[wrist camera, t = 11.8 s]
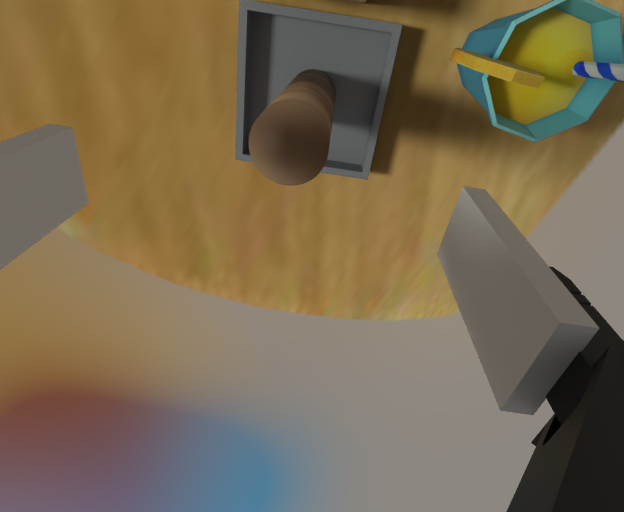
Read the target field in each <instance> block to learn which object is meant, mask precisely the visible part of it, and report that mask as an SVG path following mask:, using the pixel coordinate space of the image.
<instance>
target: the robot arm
mask: <svg viewBox="0 0 624 512" xmlns="http://www.w3.org/2000/svg"><path fill="white" fill-rule="evenodd" d="M88 203H89V202H88V197H87V192H86V188H85V183H84V179H83V174H82V169H81V165H80V160H79V155H78V151H77V146H76V141H75V137H74V132H73V127H67V126H60V125H53V124H48V125H45V126H42V127H40V128H37V129H34V130H32V131H29V132H26V133H24V134H21V135H19V136H16V137H13V138H11V139H8V140H5V141H3V142H0V270H1V269H2V268H3V267H5V266H6V265H7V264H8V263H10V262H11V261H12V260H14V259H15V258H16V257H18V256H19V255H20V254H22V253H23V252H24V251H26V250H27V249H28V248H30V247H31V246H32V245H34V244H35V243H36V242H38V241H39V240H40V239H42V238H43V237H44V236H45V235H47V234H48V233H50V232H51V231H52V230H54V229H55V228H56V227H58V226H59V225H60V224H62V223H63V222H64V221H66V220H67V219H68V218H69V217H71V216H72V215H73V214H75V213H76V212H77V211H79V210H80V209H81V208H83V207H84V206H85V205H87V204H88ZM437 255H438V257H439V260H440V262H441V265H442V267H443V270H444V272H445V275H446V277H447V280H448V282H449V285H450V287H451V290H452V292H453V294H454V297H455V299H456V302H457V304H458V307H459V309H460V312H461V314H462V317H463V319H464V321H465V324H466V327H467V329H468V331H469V334H470V337H471V339H472V341H473V344H474V346H475V349H476V351H477V354H478V356H479V359H480V361H481V364H482V366H483V369H484V371H485V374H486V376H487V379H488V381H489V384H490V386H491V388H492V391H493V393H494V396H495V398H496V401H497V403H498V406H499V408H500V410H501V411H507V412H514V413H521V414H529V415H534V413H535V412H536V411H537V410H538V408H539V407H540V406H541V404H542V403H543V402H544V400H545V399H546V398H547V400H548V402H549V404H550V406H551V407H552V409H553V411H554V413H555V414H554V415H553V416H552V418H551V419H550V420H549V421H548V423H547V424H546V425H545V426H544V427H543V429H542V430H541V431H540V432H539V434H538V435H537V436H536V437H535V438H534V440H533V441H532V444H534V445H535V446H536V448H535V451H534V453H533V455H532V457H531V459H530V461H529V464H528V466H527V468H526V470H525V472H524V475H523V477H522V479H521V481H520V483H519V486H518V488H517V490H516V492H515V494H514V497H513V499H512V501H511V503H510V505H509V508H508V510H507V512H624V341H623V340H622V339H621V338H620V337H619V336H618V334H617V333H616V332H615V331H614V330H613V329H612V327H611V326H610V325H609V324H608V323H607V322H606V320H605V319H604V318H603V317H602V316H601V315H600V313H599V312H598V311H597V310H596V309H595V308H594V307H593V306H591V303H590V302H589V301H588V300H587V298H586V297H585V296H584V295H581V292H580V290H579V289H578V288H577V287H576V286H575V285H574V284H573V282H572V281H571V280H570V279H569V278H567V277H566V276H565V275H563V274H562V273H560V272H559V271H557V270H556V269H555V268H553V267H549V266H548V265H547V264H546V263H545V261H544V260H543V259H542V258H541V257H540V255H539V254H538V253H537V252H536V251H535V249H534V248H533V247H532V246H531V245H530V243H529V242H528V241H527V240H526V238H525V237H524V236H523V235H522V234H521V232H520V231H519V230H518V229H517V228H516V226H515V225H514V224H513V223H512V221H511V220H510V219H509V218H508V217H507V215H506V214H505V213H504V212H503V211H502V209H501V208H500V207H499V206H498V204H497V203H496V202H495V201H494V200H493V198H492V197H491V196H490V195H489V194H488V192H487V191H486V190H485V189H478V188H472V187H465V186H463V187H462V190H461V193H460V195H459V198H458V200H457V203H456V206H455V208H454V211H453V214H452V216H451V219H450V222H449V224H448V227H447V229H446V232H445V235H444V237H443V240H442V243H441V245H440V248H439V251H438V253H437Z"/></svg>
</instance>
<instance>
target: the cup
mask: <svg viewBox="0 0 624 512" xmlns="http://www.w3.org/2000/svg"><path fill="white" fill-rule="evenodd" d="M450 60H451V61H453V62H456V63H457V65H458V69H459V73H460V77H461V80H462V84H463V86H464V87H465V88H466V89H467V90H468V91H469V92H470V94H471V95H472V96H473V97H474V98H475V99H476V100H477V101H478V102H479V103H480V104H481V105H482V107H483V108H484V109H485V110H486V111H487V113H488V117H489V121H490V122H491V124H492V125H493V126H494V127H497V128H500V129H502V130H505V131H507V132H510V133H512V134H515V135H517V136H520V137H522V138H525V139H527V140H530V141H533V142H537V141H540V140H542V139H545V138H547V137H550V136H552V135H555V134H557V133H560V132H562V131H565V130H567V129H570V128H572V127H575V126H577V125H580V124H582V123H585V122H587V121H588V120H589V118H590V117H591V116H592V114H593V113H594V111H595V110H596V109H597V107H598V106H599V105H600V103H601V102H602V100H603V99H604V98H605V96H606V95H607V93H608V92H609V91H610V89H611V88H612V87H613V85H614V84H615V82H616V81H622V82H624V51H623V35H622V18H621V13H619V12H617V11H615V10H613V9H611V8H608V7H606V6H604V5H602V4H600V3H597V2H595V1H593V0H552V1H550V2H548V3H546V4H544V5H542V6H540V7H538V8H535V9H531V10H528V11H524V12H521V13H518V14H514V15H511V16H507V17H504V18H500V19H497V20H495V21H493V22H491V23H489V24H487V25H485V26H483V27H481V28H479V29H477V30H475V31H473V32H471V33H470V34H469V36H468V38H467V40H466V42H465V44H464V46H463V48H462V49H460V48H455V49H454V51H453V53H452V56H451V58H450Z"/></svg>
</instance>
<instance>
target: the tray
mask: <svg viewBox="0 0 624 512" xmlns="http://www.w3.org/2000/svg"><path fill="white" fill-rule="evenodd" d="M401 29H402V24H395V23H389V22H383V21H376V20H370V19H364V18H358V17H351V16H345V15H339V14H332V13H326V12H320V11H314V10H307V9H301V8H295V7H288V6H282V5H276V4H269V3H263V2H257V1H251V0H239V35H238V78H237V120H236V160H241V161H248V162H253V160H252V158H251V155H250V151H249V134H250V130H251V128H252V125H253V124H254V122H255V120H256V119H257V118H258V117H259V115H260V114H261V113H262V112H263V111H264V110H265V109H266V108H267V107H268V106H269V105H270V104H271V103H272V102H273V100H274V99H275V98H276V97H277V96H278V95H279V94H280V93H281V92H282V91H283V90H284V89H285V88H286V87H287V85H288V84H289V83H290V82H291V81H292V80H293V79H294V78H295V77H296V76H297V75H298V74H299V73H301V72H302V71H305V70H308V69H316V70H320V71H322V72H324V73H325V74H327V75H328V76H329V77H330V79H331V80H332V82H333V84H334V86H335V91H336V98H335V106H334V114H333V122H332V130H331V137H330V145H329V153H328V158H327V161H326V163H325V165H324V167H323V169H322V170H321V171H320V173H327V174H333V175H340V176H346V177H353V178H360V179H366V180H368V176H369V171H370V167H371V163H372V158H373V154H374V149H375V145H376V140H377V136H378V131H379V127H380V122H381V118H382V114H383V109H384V105H385V100H386V96H387V91H388V87H389V82H390V78H391V74H392V69H393V65H394V60H395V56H396V51H397V47H398V42H399V38H400V34H401Z"/></svg>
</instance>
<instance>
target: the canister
mask: <svg viewBox="0 0 624 512" xmlns="http://www.w3.org/2000/svg"><path fill="white" fill-rule="evenodd" d="M347 1H353V2H359V3H364V2H365V1H366V0H347Z"/></svg>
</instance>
